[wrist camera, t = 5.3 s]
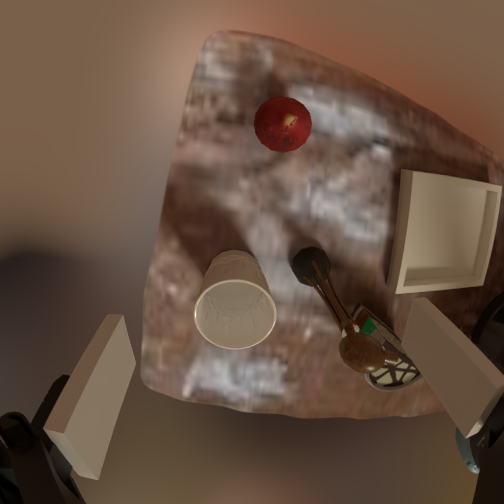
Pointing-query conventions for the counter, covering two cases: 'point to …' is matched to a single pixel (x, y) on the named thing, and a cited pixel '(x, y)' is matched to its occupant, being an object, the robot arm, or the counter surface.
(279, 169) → the counter surface
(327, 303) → the wooden tabletop sculpture
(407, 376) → the food container
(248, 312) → the white cup
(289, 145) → the onion
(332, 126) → the counter surface
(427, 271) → the tray
